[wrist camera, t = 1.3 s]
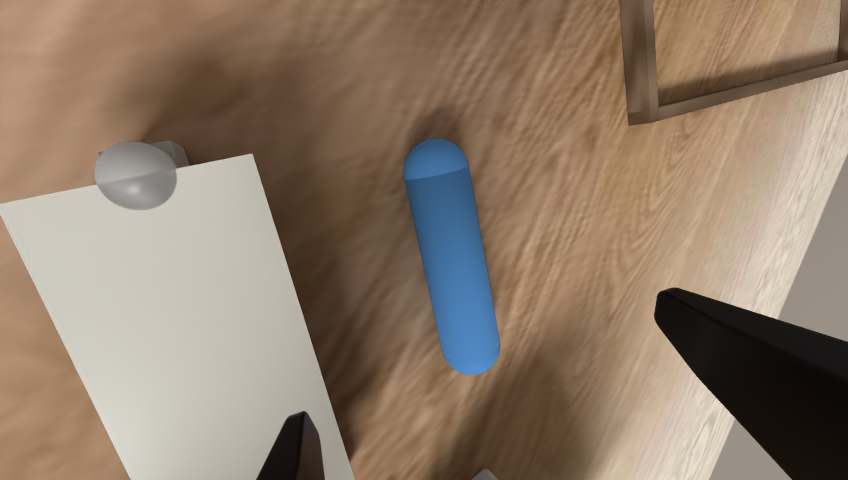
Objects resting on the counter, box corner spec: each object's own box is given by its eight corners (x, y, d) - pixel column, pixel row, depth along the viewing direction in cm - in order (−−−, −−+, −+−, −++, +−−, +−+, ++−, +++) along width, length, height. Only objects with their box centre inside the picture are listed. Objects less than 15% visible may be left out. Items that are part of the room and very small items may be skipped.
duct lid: (364, 516, 22) (373, 540, 21) (212, 606, 19) (210, 641, 18) (241, 126, 17) (242, 122, 15) (3, 168, 14) (-23, 167, 12)
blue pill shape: (483, 347, 30) (516, 370, 27) (437, 368, 29) (466, 396, 25) (442, 135, 26) (475, 129, 23) (387, 147, 25) (413, 143, 21)
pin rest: (841, 68, 47) (865, 64, 46) (628, 125, 33) (651, 122, 32) (847, -35, 45) (873, -44, 43) (618, -20, 31) (641, -32, 29)
